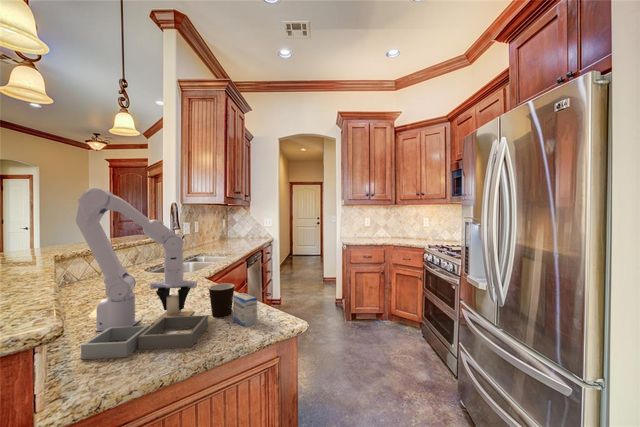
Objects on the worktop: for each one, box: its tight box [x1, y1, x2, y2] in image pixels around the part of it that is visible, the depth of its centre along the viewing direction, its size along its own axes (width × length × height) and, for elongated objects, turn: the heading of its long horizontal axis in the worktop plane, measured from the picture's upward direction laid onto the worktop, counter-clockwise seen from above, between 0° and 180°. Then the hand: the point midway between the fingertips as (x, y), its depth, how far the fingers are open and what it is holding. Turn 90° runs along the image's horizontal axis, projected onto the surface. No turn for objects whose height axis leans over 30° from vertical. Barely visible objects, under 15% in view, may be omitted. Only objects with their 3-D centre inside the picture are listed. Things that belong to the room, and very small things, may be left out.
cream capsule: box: [166, 293, 182, 316], centre depth 93 cm, size 4×4×6 cm
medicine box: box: [232, 292, 258, 328], centre depth 90 cm, size 8×4×9 cm, turn 47°
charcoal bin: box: [137, 314, 209, 351], centre depth 79 cm, size 14×14×4 cm
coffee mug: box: [208, 282, 235, 319], centre depth 98 cm, size 12×9×10 cm
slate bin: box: [80, 325, 150, 360], centre depth 73 cm, size 11×11×4 cm
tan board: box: [150, 310, 195, 326], centre depth 93 cm, size 10×10×1 cm
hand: (174, 309), depth 93 cm, fingers closed on cream capsule, 4 cm apart
